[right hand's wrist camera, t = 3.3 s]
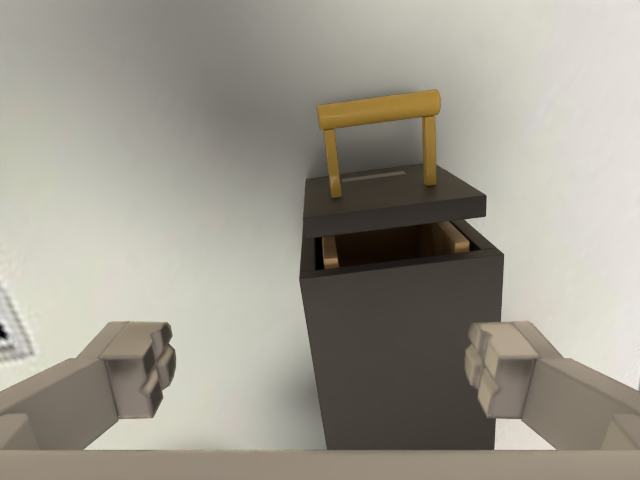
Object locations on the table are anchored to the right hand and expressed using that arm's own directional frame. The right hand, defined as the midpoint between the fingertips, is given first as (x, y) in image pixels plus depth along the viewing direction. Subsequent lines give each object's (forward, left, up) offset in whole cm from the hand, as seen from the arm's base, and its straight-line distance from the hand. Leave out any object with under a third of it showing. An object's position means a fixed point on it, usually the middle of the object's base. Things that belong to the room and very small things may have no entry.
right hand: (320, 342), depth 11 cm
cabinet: (+13, -5, -21) cm, 25 cm away
